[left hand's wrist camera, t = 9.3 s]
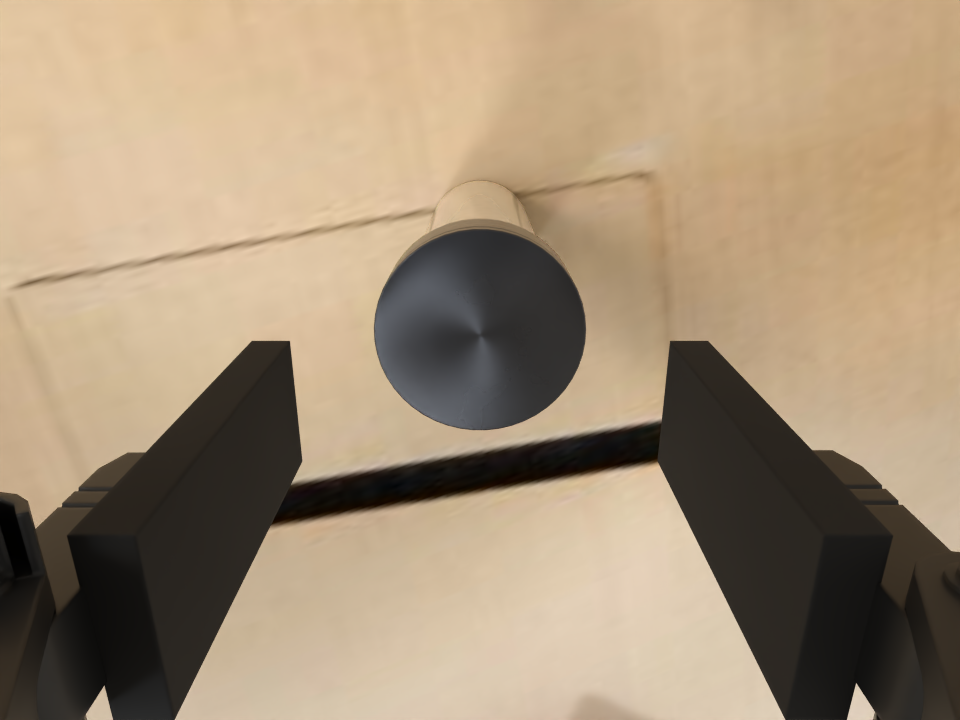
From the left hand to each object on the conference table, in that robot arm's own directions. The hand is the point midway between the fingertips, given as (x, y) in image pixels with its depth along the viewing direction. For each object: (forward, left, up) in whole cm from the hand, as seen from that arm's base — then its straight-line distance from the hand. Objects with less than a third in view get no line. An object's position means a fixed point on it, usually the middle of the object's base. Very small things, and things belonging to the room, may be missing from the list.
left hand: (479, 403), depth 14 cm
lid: (0, 0, -5) cm, 5 cm away
